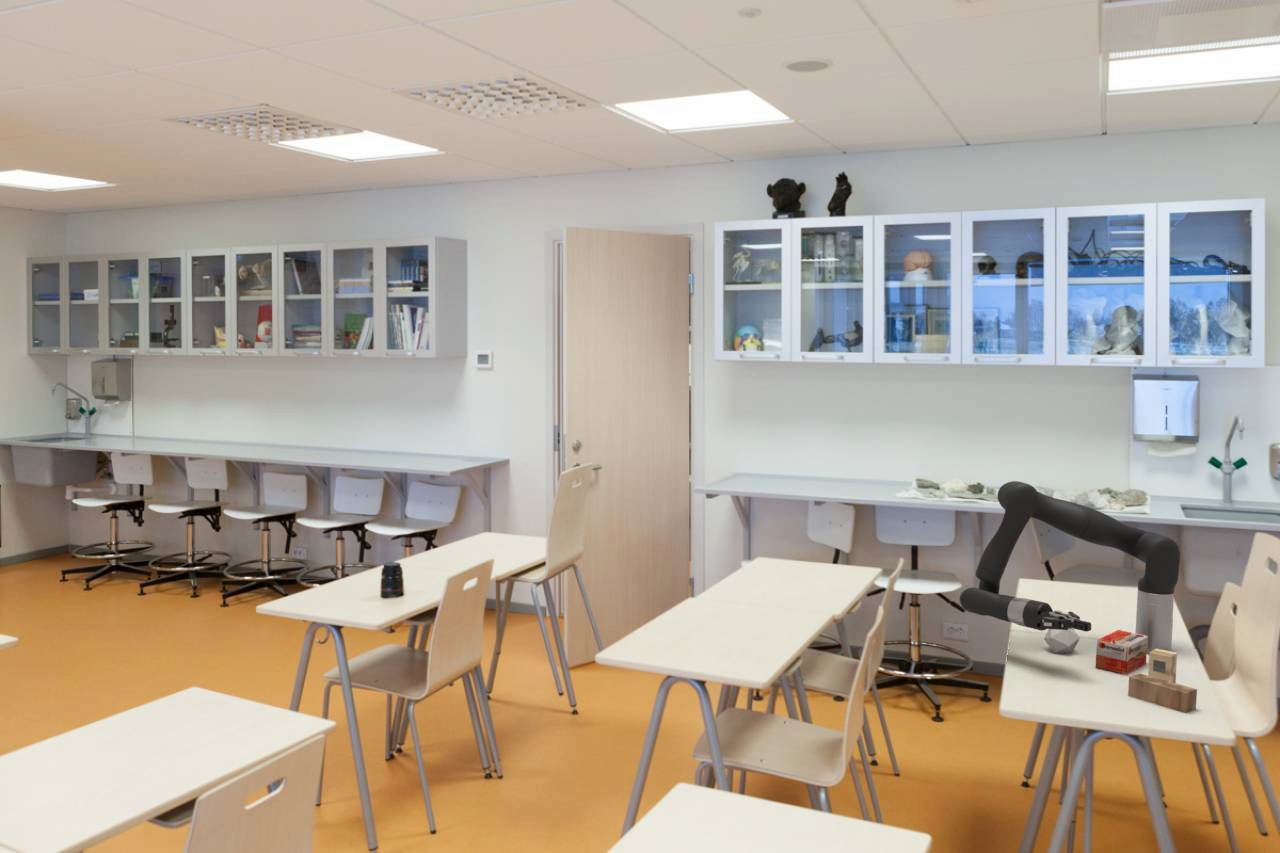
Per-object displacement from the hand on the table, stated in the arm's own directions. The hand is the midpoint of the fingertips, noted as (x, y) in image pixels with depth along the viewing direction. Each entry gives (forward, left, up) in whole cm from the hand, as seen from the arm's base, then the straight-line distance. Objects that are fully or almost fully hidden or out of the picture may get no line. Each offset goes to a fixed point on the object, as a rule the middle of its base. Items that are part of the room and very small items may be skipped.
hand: (1089, 627), depth 263 cm
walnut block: (0, +12, -12) cm, 17 cm away
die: (-18, -18, -14) cm, 29 cm away
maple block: (-11, +14, -14) cm, 22 cm away
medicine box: (-19, -2, -14) cm, 24 cm away
